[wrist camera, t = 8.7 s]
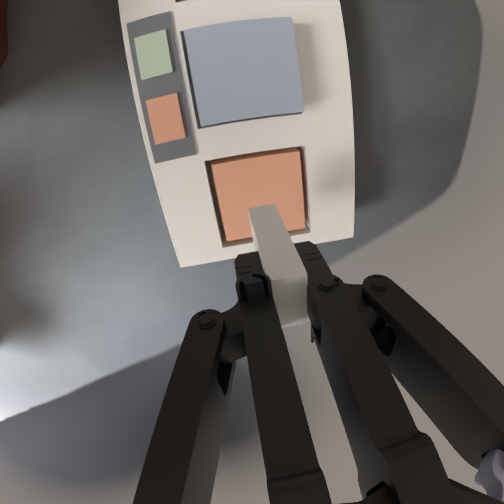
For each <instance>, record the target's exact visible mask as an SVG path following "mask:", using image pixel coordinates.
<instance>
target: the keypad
mask: <svg viewBox="0 0 504 504" xmlns="http://www.w3.org/2000/svg"><path fill="white" fill-rule="evenodd" d="M118 4H119V12H120V19H121V26H122V33H123V39H124V46H125V52H126V57H127V63H128V69H129V74H130V79H131V84H132V89H133V94H134V99H135V104H136V108H137V113H138V117H139V122H140V126H141V130H142V135H143V139H144V143H145V147H146V151H147V155H148V159H149V163H150V167H151V170H152V174H153V178H154V181H155V185H156V189H157V192H158V196H159V199H160V203H161V206H162V210H163V213H164V217H165V220H166V223H167V226H168V230H169V233H170V236H171V239H172V243H173V246H174V249H175V252H176V255H177V258H178V261H179V264H180V267H187V266H193V265H199V264H204V263H210V262H216V261H222V260H227V259H233V258H236V257H237V255H238V254H244V253H249V252H255V249H254V243H253V237H250V238H244V239H238V240H232V241H227V240H226V235H225V230H224V225H223V221H222V216H221V211H220V206H219V201H218V197H217V192H216V187H215V182H214V177H213V172H212V167H211V161H212V160H213V159H218V158H224V157H229V156H235V155H241V154H247V153H254V152H260V151H267V150H274V149H282V148H290V147H295V148H296V149H298V150H299V151H300V161H301V173H302V186H303V200H304V216H305V228H302V229H296V230H290V231H288V233H289V235H290V237H291V239H292V241H293V244H294V243H299V242H305V241H310V242H312V243H313V244H319V243H324V242H330V241H336V240H341V239H347V238H352V237H353V233H354V203H355V155H354V126H353V108H352V94H351V82H350V72H349V62H348V54H347V46H346V38H345V31H344V24H343V18H342V12H341V6H340V1H339V0H185V1H183V0H118ZM277 17H292V22H293V28H294V34H295V41H296V48H297V55H298V62H299V70H300V78H301V86H302V95H303V104H304V112H298V113H288V114H278V115H270V116H262V117H255V118H248V119H241V120H235V121H229V122H223V123H218V124H212V125H207V126H202V127H201V124H200V119H199V114H198V109H197V103H196V98H195V92H194V87H193V81H192V76H191V70H190V64H189V59H188V53H187V47H186V41H185V35H184V30H186V29H191V28H196V27H201V26H206V25H212V24H218V23H225V22H232V21H241V20H250V19H261V18H277Z"/></svg>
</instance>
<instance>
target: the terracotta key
mask: <svg viewBox="0 0 504 504" xmlns="http://www.w3.org/2000/svg"><path fill="white" fill-rule="evenodd" d="M211 167H212V172H213V177H214V182H215V187H216V192H217V197H218V201H219V206H220V211H221V216H222V221H223V225H224V230H225V235H226V240H227V241H232V240H238V239H244V238H250V237H253V236H252V230H251V224H250V217H249V211H248V208H252V207H257V206H263V205H269V204H275V206H276V208H277V210H278V212H279V214H280V216H281V218H282V220H283V222H284V224H285V227H286V229H287V231H290V230H296V229H302V228H305V216H304V200H303V186H302V173H301V161H300V151H299V150H298V149H296V148H295V147H290V148H282V149H274V150H267V151H260V152H254V153H247V154H241V155H235V156H229V157H224V158H218V159H213V160H212V161H211Z"/></svg>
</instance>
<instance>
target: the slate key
mask: <svg viewBox="0 0 504 504" xmlns="http://www.w3.org/2000/svg"><path fill="white" fill-rule="evenodd" d="M184 35H185V41H186V47H187V53H188V59H189V64H190V70H191V76H192V81H193V87H194V92H195V98H196V103H197V109H198V114H199V119H200V124H201V127H202V126H207V125H212V124H218V123H223V122H229V121H235V120H241V119H248V118H255V117H262V116H270V115H278V114H288V113H298V112H304V104H303V95H302V86H301V78H300V70H299V62H298V55H297V48H296V41H295V34H294V28H293V22H292V17H277V18H261V19H250V20H241V21H232V22H225V23H218V24H212V25H206V26H201V27H196V28H191V29H186V30H184Z"/></svg>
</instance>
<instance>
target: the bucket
mask: <svg viewBox="0 0 504 504" xmlns="http://www.w3.org/2000/svg"><path fill="white" fill-rule="evenodd" d="M7 54H8V47H7V0H0V67H1V65H2V63H3V62H4V60H5V58H6V56H7Z"/></svg>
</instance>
